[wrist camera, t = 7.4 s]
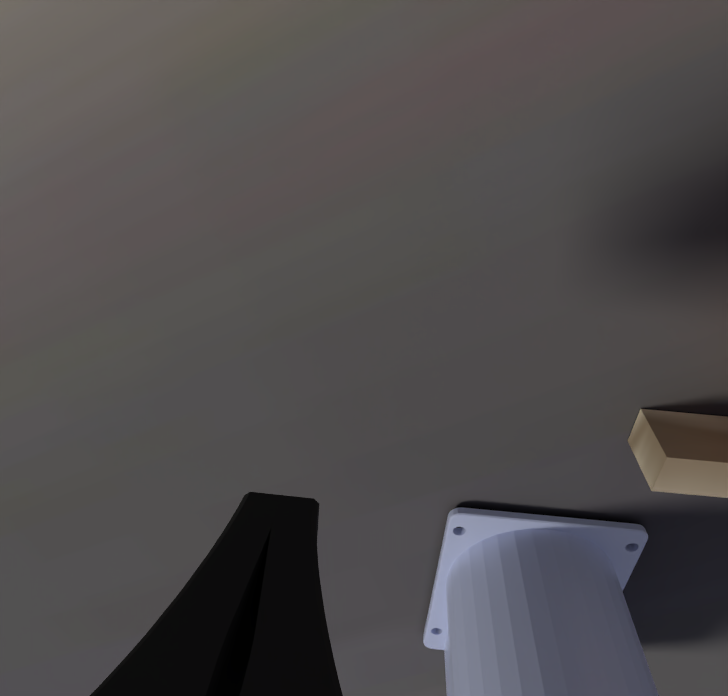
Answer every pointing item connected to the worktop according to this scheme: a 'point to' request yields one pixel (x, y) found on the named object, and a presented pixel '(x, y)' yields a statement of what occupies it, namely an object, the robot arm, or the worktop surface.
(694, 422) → the nest
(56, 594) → the worktop surface
